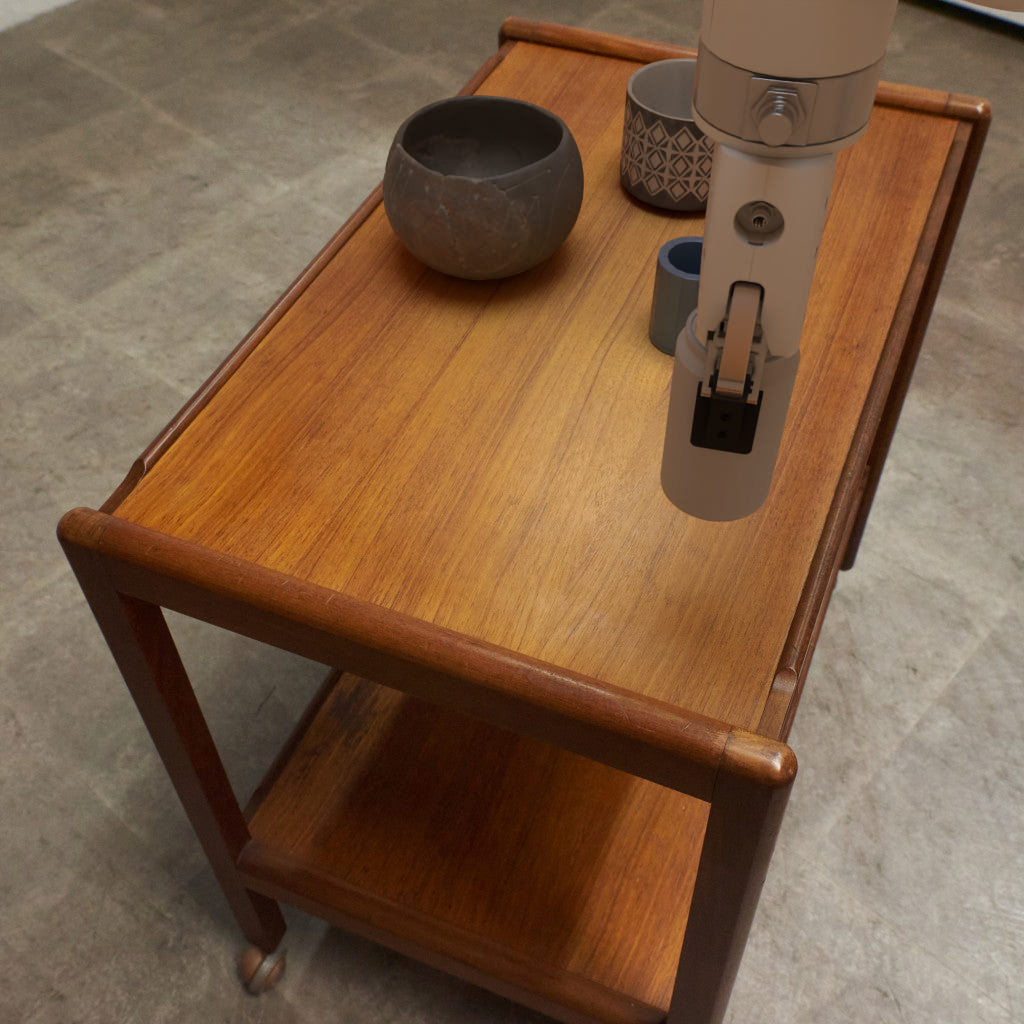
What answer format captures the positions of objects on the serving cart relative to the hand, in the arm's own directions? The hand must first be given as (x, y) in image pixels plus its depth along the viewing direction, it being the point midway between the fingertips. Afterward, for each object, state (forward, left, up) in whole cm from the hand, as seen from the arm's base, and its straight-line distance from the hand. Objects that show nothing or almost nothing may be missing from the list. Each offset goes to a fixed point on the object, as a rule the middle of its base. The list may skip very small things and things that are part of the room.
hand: (729, 400), depth 58 cm
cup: (+5, -30, -19) cm, 36 cm away
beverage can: (0, 0, -7) cm, 7 cm away
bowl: (+25, -37, -20) cm, 49 cm away
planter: (+9, -54, -20) cm, 58 cm away
